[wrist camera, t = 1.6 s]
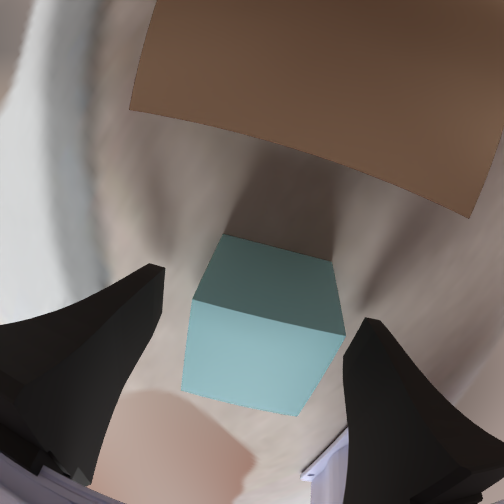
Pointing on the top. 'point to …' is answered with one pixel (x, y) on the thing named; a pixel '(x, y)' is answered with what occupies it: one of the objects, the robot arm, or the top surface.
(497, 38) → the walnut block
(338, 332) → the teal cube
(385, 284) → the top surface
